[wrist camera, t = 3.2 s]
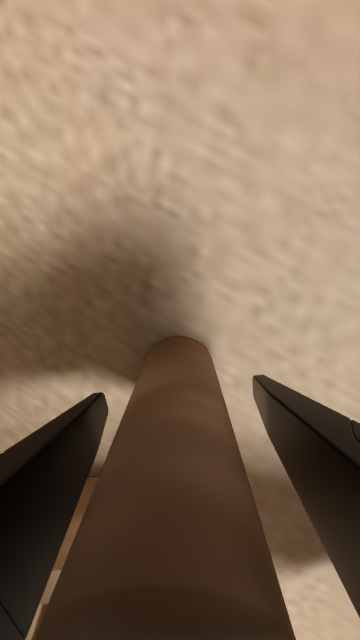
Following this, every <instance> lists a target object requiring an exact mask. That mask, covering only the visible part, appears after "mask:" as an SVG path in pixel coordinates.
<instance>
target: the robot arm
mask: <svg viewBox="0 0 360 640" xmlns="http://www.w3.org/2000/svg"><path fill="white" fill-rule="evenodd" d="M253 395H254V399H255V402H256V404H257V407H258V410H259V412H260V415H261V418H262V420H263V423H264V426H265V428H266V431H267V434H268V436H269V438H270V440H271V442H272V444H273V446H274V448H275V450H276V452H277V454H278V456H279V458H280V460H281V462H282V464H283V466H284V468H285V470H286V472H287V474H288V476H289V478H290V480H291V482H292V484H293V486H294V488H295V490H296V492H297V494H298V496H299V498H300V500H301V502H302V504H303V506H304V508H305V510H306V512H307V514H308V516H309V518H310V520H311V522H312V524H313V526H314V528H315V530H316V532H317V534H318V536H319V538H320V540H321V542H322V544H323V546H324V548H325V550H326V552H327V554H328V556H329V557H330V559H331V561H332V563H333V565H334V567H335V569H336V571H337V573H338V575H339V577H340V579H341V581H342V583H343V585H344V587H345V589H346V591H347V593H348V595H349V597H350V599H351V601H352V603H353V605H354V607H355V609H356V611H357V613H358V615H359V617H360V423H358V422H356V421H354V420H350V418H348V417H346V416H344V415H342V414H340V413H338V412H336V411H334V410H332V409H330V408H328V407H326V406H324V405H322V404H320V403H318V402H316V401H314V400H312V399H310V398H308V397H306V396H304V395H302V394H300V393H298V392H296V391H294V390H292V389H290V388H288V387H286V386H284V385H283V384H281V383H279V382H277V381H275V380H273V379H271V378H269V377H267V376H265V375H255V376H253ZM107 416H108V406H107V402H106V399H105V395H104V393H102V392H100V393H93V394H91V395H90V396H88V397H87V398H85V399H84V400H82V401H81V402H79V403H78V404H76V405H75V406H73V407H71V408H70V409H68V410H67V411H65V412H64V413H62V414H61V415H59V416H58V417H56V418H55V419H53V420H52V421H50V422H49V423H47V424H46V425H44V426H42V427H41V428H39V429H38V430H36V431H35V432H33V433H32V434H30V435H29V436H27V437H26V438H24V439H23V440H21V441H20V442H18V443H16V444H15V445H13V446H12V447H10V448H9V449H7V450H6V451H4V453H1V454H0V640H25V639H26V637H27V635H28V633H29V630H30V627H31V625H32V622H33V620H34V617H35V614H36V612H37V609H38V606H39V604H40V601H41V599H42V596H43V593H44V591H45V588H46V585H47V583H48V580H49V578H50V575H51V572H52V570H53V567H54V564H55V562H56V559H57V557H58V554H59V551H60V549H61V546H62V543H63V541H64V538H65V536H66V533H67V530H68V528H69V525H70V522H71V520H72V517H73V515H74V512H75V509H76V507H77V504H78V501H79V499H80V496H81V494H82V491H83V488H84V486H85V483H86V480H87V478H88V475H89V473H90V470H91V467H92V465H93V462H94V459H95V457H96V454H97V451H98V448H99V445H100V441H101V438H102V434H103V430H104V427H105V423H106V419H107Z"/></svg>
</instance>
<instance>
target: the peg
mask: <svg viewBox="0 0 360 640" xmlns="http://www.w3.org/2000/svg"><path fill="white" fill-rule="evenodd" d="M35 640H296V639H295V635H294V632H293V629H292V625H291V622H290V619H289V615H288V612H287V609H286V605H285V602H284V599H283V595H282V592H281V588H280V585H279V582H278V578H277V575H276V572H275V568H274V565H273V562H272V558H271V555H270V552H269V548H268V545H267V542H266V538H265V535H264V532H263V528H262V525H261V522H260V518H259V515H258V511H257V508H256V505H255V501H254V498H253V495H252V491H251V488H250V485H249V481H248V478H247V475H246V471H245V468H244V465H243V461H242V458H241V455H240V451H239V448H238V445H237V441H236V438H235V435H234V431H233V428H232V424H231V421H230V418H229V414H228V411H227V408H226V404H225V401H224V398H223V394H222V391H221V388H220V384H219V381H218V378H217V374H216V371H215V368H214V364H213V361H212V358H211V355H210V353H209V352H208V350H207V349H206V348H205V347H204V346H203V345H202V344H201V343H199V342H198V341H196V340H194V339H191V338H188V337H182V336H175V337H169V338H166V339H164V340H161V341H160V342H158V343H157V344H156V345H154V346H153V347H152V349H151V350H150V351H149V353H148V355H147V357H146V360H145V362H144V365H143V367H142V370H141V372H140V375H139V377H138V380H137V382H136V385H135V387H134V390H133V392H132V395H131V397H130V400H129V402H128V405H127V407H126V410H125V412H124V415H123V417H122V420H121V422H120V425H119V427H118V430H117V432H116V435H115V437H114V440H113V442H112V445H111V447H110V450H109V452H108V455H107V457H106V460H105V462H104V465H103V467H102V470H101V472H100V475H99V477H98V480H97V482H96V485H95V487H94V490H93V492H92V495H91V497H90V500H89V503H88V505H87V508H86V510H85V513H84V515H83V518H82V520H81V523H80V525H79V528H78V530H77V533H76V535H75V538H74V540H73V543H72V545H71V548H70V550H69V553H68V555H67V558H66V560H65V563H64V565H63V568H62V570H61V573H60V575H59V578H58V580H57V583H56V585H55V588H54V590H53V593H52V595H51V598H50V600H49V603H48V605H47V608H46V610H45V613H44V615H43V618H42V620H41V623H40V625H39V628H38V630H37V633H36V636H35Z"/></svg>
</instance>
